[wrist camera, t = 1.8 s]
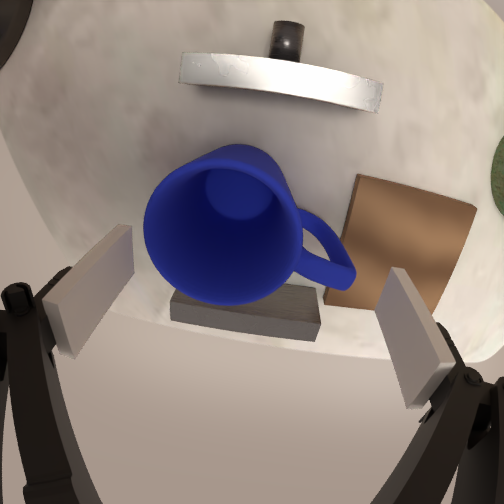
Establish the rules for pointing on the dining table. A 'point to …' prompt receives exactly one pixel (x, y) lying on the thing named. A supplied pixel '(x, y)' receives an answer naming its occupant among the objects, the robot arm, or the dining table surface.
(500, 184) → the decorative artifact
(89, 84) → the dining table surface
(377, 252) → the walnut board
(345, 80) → the vise jaws
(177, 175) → the mug
